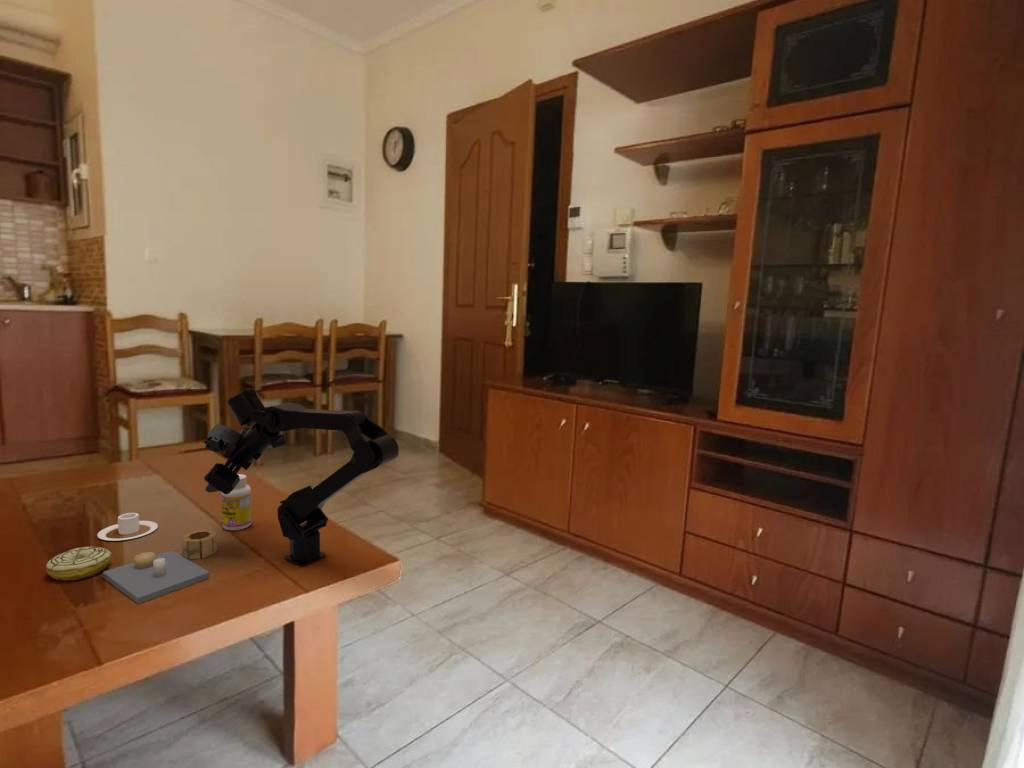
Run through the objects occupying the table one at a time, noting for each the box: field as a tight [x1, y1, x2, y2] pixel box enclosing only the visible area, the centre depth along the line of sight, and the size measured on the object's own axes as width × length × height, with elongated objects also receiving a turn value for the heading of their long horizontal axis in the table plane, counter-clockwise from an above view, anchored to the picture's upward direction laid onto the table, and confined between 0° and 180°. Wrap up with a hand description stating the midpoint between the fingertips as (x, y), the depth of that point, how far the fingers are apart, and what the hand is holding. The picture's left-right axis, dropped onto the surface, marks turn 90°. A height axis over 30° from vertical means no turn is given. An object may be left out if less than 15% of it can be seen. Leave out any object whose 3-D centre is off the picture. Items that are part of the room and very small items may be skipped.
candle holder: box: [96, 512, 159, 542], centre depth 133 cm, size 12×12×4 cm
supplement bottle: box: [221, 473, 253, 531], centre depth 138 cm, size 7×7×13 cm
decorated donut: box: [45, 546, 112, 582], centre depth 114 cm, size 10×11×4 cm
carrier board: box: [102, 550, 211, 605], centre depth 112 cm, size 16×13×4 cm
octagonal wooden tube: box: [181, 529, 218, 560], centre depth 123 cm, size 6×6×4 cm
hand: (217, 478), depth 129 cm, fingers open, 9 cm apart
